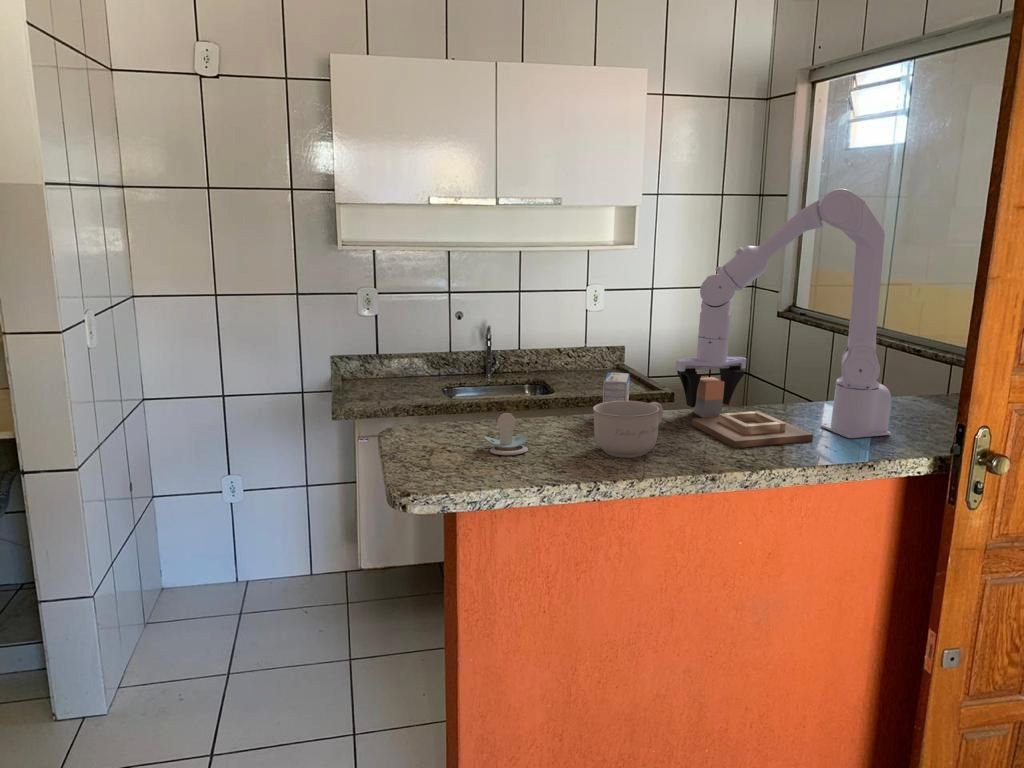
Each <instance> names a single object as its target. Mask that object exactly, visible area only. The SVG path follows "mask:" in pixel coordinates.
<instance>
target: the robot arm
mask: <svg viewBox="0 0 1024 768" xmlns="http://www.w3.org/2000/svg"><path fill="white" fill-rule="evenodd" d="M822 221H823V222H825V223H826V224H827V225H829V226H830V227H834V228H835V229H838V230H839V231H842V232H843V233H844V234H845V236H846V237H848V238H849V239H850V240H851V241H852V242H853V243H854V244H855V248H854V249H855V250H854V251H855V254H854V266H853V277H852V287H851V288H852V291H851V302H850V303H851V304H850V313H849V315H850V316H849V317H850V318H849V326H848V327H849V328H848V335H847V336H848V337H847V346H846V348H845V350H844V351H843V353H842V355H841V358H840V366H841V368H840V372H841V373H840V374H841V376H840V377H838V378H837V379H836V381H835V389H834V397H833V406H832V411H831V412H832V413H831V414H832V415H831V422H827V423H820V424H819V427H820V428H823V429H825V430H828V431H831V432H832V433H835V434H838V435H840V436H842V437H845V438H848V439H858V438H868V437H870V438H871V437H879V436H880V437H881V436H890V435H891V431H889V429H888V428H889V422H890V415H891V408H892V407H891V406H892V394H891V391H890V389H888V388H887V386H885V385H883V384H882V383H880V382H879V381H877V380H878V379H879V377H880V374H881V365H880V363H879V359H878V355H877V353H876V351H877V332H878V331H877V328H878V317H879V308H880V307H879V306H880V305H879V304H880V295H881V294H880V293H881V284H882V283H881V282H882V273H883V272H882V271H883V259H884V247H885V235H886V234H885V230H884V229H883V226H882V225H881V224H880V222H879V221H878V219H877V218H876V216H875V215H874V213H873V211H872V210H871V209H870V207H869V205H868V203H866V201H865V200H864V199H863V198H861V197H860V196H858V195H857V194H856V193H854V192H853V191H851V190H849V189H846V188H837V189H834V190H831V191H829V192H828V193H826V194H825V196H824V197H822V200H821V199H818V200H816V201H814V202H812V203H811V204H809V205H807V206H805V207H804V208H802V209H800V211H798V212H797V213H795V214H794V215H793V216H792V217H791V218H790V219H788V220H787V221H786V222H785V223H784V224H783V225H782V226H780V227H779V228H778V229H777V230H776V231H775V232H773V233H772V234H771V235H770V236H768V237H767V238H765V240H764V241H763V242H762V243H760V245H757V246H756V245H746V246H745V247H744V248H742V247H739V248H738V249H737V250H736V251H735V256H733V257H732V258H730V259H729V260H728V261H727V262H726V263H725V264H723V265H722V266H721V265H718V266H717V267H715V272H716V273H714V274H711V275H709V276H706V278H705V279H704V280H703V282H702V284H701V286H700V287H699V288H700V289H699V295H700V298H701V304H700V307H701V308H700V309H701V310H700V313H699V322H698V323H699V324H698V337H697V348H696V356H693V357H688V358H681V359H676V360H675V370H676V372H677V375H678V378H679V379H680V381H681V382H680V383H681V384H682V387H683V392H684V394H685V402H686V406H689V408H690V407H691V408H693V407H695V405H696V398H697V389H698V385H699V381H700V379H701V378H702V375H701V374H699V373H698V370H699V371H700V370H702V371H703V370H715V369H718V370H719V375H720V380H721V381H724V394H723V405H725V406H728V405H730V402H731V400H732V397H733V394H734V392H735V391H736V390H735V389H737V388H736V387H737V386H738V383H740V381H741V380H742V378H744V376H745V370H743V369H746V367H747V358H746V357H743V356H728V353H729V350H728V349H729V340H730V327H731V317H732V316H731V315H732V314H731V306H732V304H731V303H732V301H731V300H732V298H733V297H734V296H735V294H736V291H737V292H740V291H742V290H743V289H744V288H746V287H747V286H748V285H749V284H751V283H753V281H755V280H756V279H757V278H758V277H760V276H761V275H762V274H764V273H765V272H767V270H768V269H769V262H770V259H771V258H772V257H773V256H774V255H776V254H778V253H779V251H781V250H782V249H784V248H785V247H786V246H787V245H789V244H790V243H792V242H793V241H794V240H795V239H797V238H798V237H800V236H801V235H802V234H803V233H805V232H807V231H812V230H816V229H820V228H823V227H824V225H823V222H822Z"/></svg>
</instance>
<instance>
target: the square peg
mask: <svg viewBox="0 0 1024 768" xmlns="http://www.w3.org/2000/svg"><path fill="white" fill-rule="evenodd" d="M723 394H724V381H721V379H719V378H717V377H714V376H710V377H701V379H700V381H699V385H698V389H697V398H696V405H695V407H692V409H693V410H694V411H693V410H692V413H693V412H694V413H693V414H695V415H697V416H700V418H711V417H719V414H723V405H724V404H723Z"/></svg>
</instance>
